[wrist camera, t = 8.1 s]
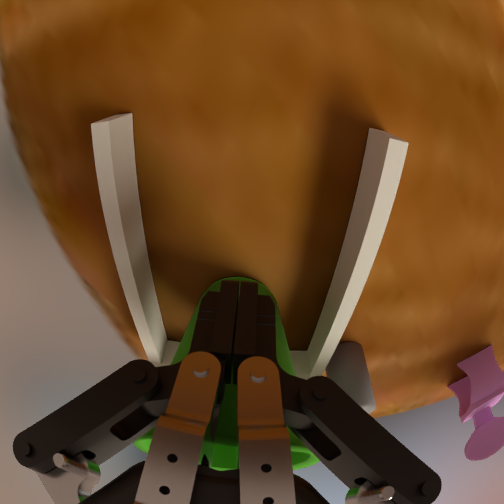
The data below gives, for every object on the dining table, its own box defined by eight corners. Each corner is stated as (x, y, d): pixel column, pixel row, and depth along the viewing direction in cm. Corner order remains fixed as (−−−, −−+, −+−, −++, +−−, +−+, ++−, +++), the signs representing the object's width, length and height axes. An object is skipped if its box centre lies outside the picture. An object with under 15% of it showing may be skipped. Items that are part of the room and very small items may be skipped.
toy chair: (497, 339, 23) (533, 428, 11) (483, 367, 28) (509, 443, 16) (451, 364, 26) (481, 463, 13) (442, 389, 30) (463, 470, 18)
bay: (116, 114, 12) (27, 152, 6) (446, 149, 12) (526, 203, 6) (161, 353, 23) (144, 417, 18) (354, 363, 23) (366, 426, 18)
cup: (198, 343, 22) (178, 468, 13) (155, 259, 17) (92, 423, 8) (306, 334, 21) (319, 469, 12) (299, 240, 16) (328, 437, 7)
